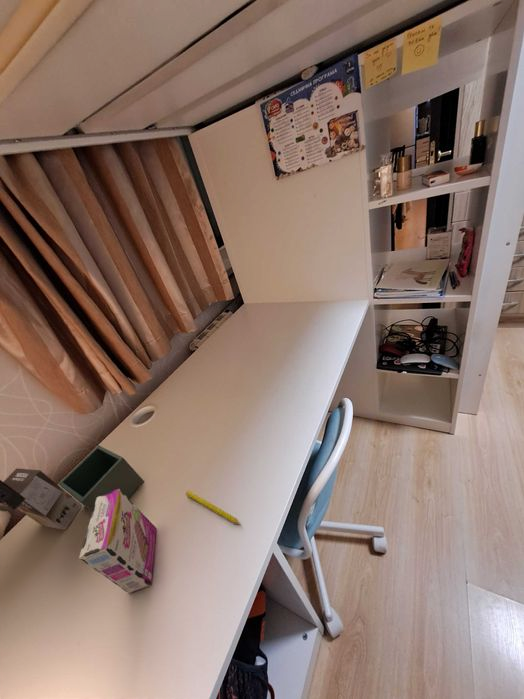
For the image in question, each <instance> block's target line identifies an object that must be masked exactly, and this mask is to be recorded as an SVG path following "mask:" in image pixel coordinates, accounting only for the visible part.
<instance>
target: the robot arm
mask: <svg viewBox="0 0 524 699" xmlns="http://www.w3.org/2000/svg"><path fill="white" fill-rule="evenodd" d="M12 494H13V493H12V491H11V490H9V489H8V488H6V487H5V486H4V485H2V484H1V483H0V504H2V503H4V502H5V501H6V500H7V499H8V498H9V497H10V496H12Z"/></svg>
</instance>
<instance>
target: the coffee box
mask: <svg viewBox="0 0 524 699" xmlns="http://www.w3.org/2000/svg"><path fill="white" fill-rule="evenodd" d="M3 482H4V483H5V484H7V485H8V486H9V487H11V488H12V489H13V490H15V491H16V492H18V493H19V494H20V495H22V496H23V497H24V498H26V499H25V500H24V501H23V502H22V503H21V504H20V505H19V506H18V507H17V508H16V509H17V510H18V511H20V512H21V513H23V514H24V515H25V516H28V517H29V518H30V519H32V520H33V521H35V522H36V523H38V524H39V525H40V526H42V527H47V528H52V529H58V530H63V531H65V530H67V528H69V526H70V524H71V523H72V521H73V520H74V519H75V517H76V515H77V514H78V513H79V511H80V510H81V508H82V506H83V505H82V504H81V503H80V502H79V501H78V500H76V499H75V498H74V497H73V496H72V495H70V494H69V493H68V492H67V491H66V490H64V489H63V488H62V487H61V486H60V485H58V483H57V482H55V481H54V480H53V479H51V478H50V477H49V476H48V475H47V474H46V473H44V472H43V471H42V470H40V469H26V468H17V467H16V468H15V469H14V470H13V471H12V472H11V473H10V474H9V475H8V476H7V477H6V478H5V480H3Z"/></svg>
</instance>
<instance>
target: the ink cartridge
mask: <svg viewBox="0 0 524 699" xmlns="http://www.w3.org/2000/svg"><path fill="white" fill-rule="evenodd" d="M0 483H1V484H2V485H4V486H5V487H6V488H8V489H9V490H11V491H12V493H13V494H12V496H10V497H9V498H8V499H7V500H6V501H5V502H4V503H1V504H2V505H4V506H7V508H10V509H11V510H13V511H16V509H17V507H18V506H19V505H20V504H21V503H22V502H23V501H24V500H25V499H26V498H24V497H23V496H22V495H20V494H19V493H18V492H16V491H15V490H13V489H12V488H11V487H9V486H8V485H7V484H5V483H4V481H3V480H1V479H0Z"/></svg>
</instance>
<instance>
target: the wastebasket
mask: <svg viewBox="0 0 524 699" xmlns="http://www.w3.org/2000/svg"><path fill="white" fill-rule="evenodd" d="M144 482H145V480H144V479H143V478H142V477H141V476H140V474H138V473H137V471H136V470H135V469H134V468H133V467H132V466H131V465H130V464H129V463H128V461H127V460H126V459H125V457H123V456H120V455H119V454H117V453H114V452H113V451H111V450H109V449H107V448H105V447H103V446H101V445H98V444H97V446H95V447H94V449H92V451H91V452H89V453H88V454H87V455H86V456H85V457H84V458H83V459H82V460H81V461H80V462H79V463H78V464H77V465H75V466H74V468H72V470H71V471H70V472H69V473H68V474H66V475H65V476H64V477H63V479H61V480H60V481H59V482H57V484H58V485H59V486H60V487H61V488H62V489H64V490H65V491H66V492H67V493H68V494H69V495H71V496H72V497H73V498H74V499H76V500H77V501H78V502H79V503H80V504H81V505H82V506H83V507H85V508H86V509H87V510H89V511H90V512H91V513H92V512H93V509H94V505H95V502H96V498H97V497H99V496H102V495H105V494H107V493H110V492H112V491H115V490H118V489H120V490H121V491H122V492H123V493H124V495H125V496H126V497H127V498H128V499H129V500H131V497H133V495H134V494H135V493H136V492H137V491H138V489H139V488H140V487H141V485H142V484H143V483H144Z"/></svg>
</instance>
